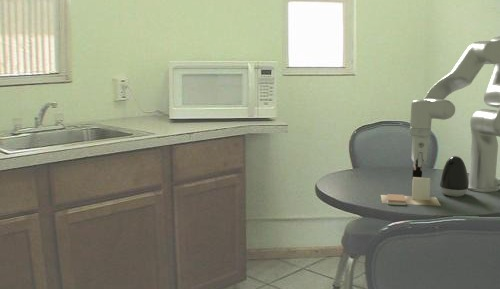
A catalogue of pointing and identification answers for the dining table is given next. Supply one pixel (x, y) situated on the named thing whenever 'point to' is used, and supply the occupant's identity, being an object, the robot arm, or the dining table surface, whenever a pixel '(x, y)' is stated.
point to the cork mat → (416, 201)
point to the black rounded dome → (454, 177)
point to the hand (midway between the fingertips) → (416, 180)
